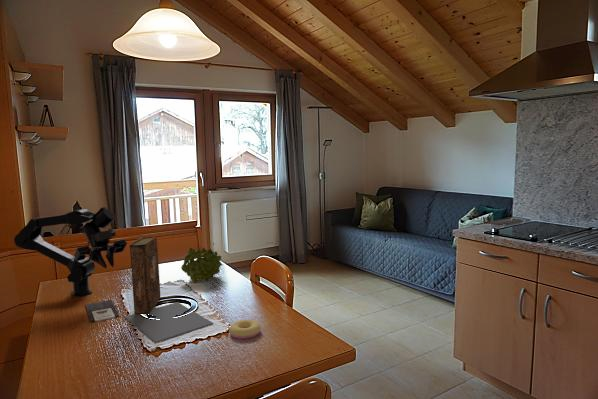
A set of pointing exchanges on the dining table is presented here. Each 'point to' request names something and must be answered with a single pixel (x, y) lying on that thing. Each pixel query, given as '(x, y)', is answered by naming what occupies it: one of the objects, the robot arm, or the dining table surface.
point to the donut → (245, 329)
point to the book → (145, 274)
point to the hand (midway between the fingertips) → (109, 267)
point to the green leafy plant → (201, 264)
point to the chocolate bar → (101, 311)
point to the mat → (168, 322)
